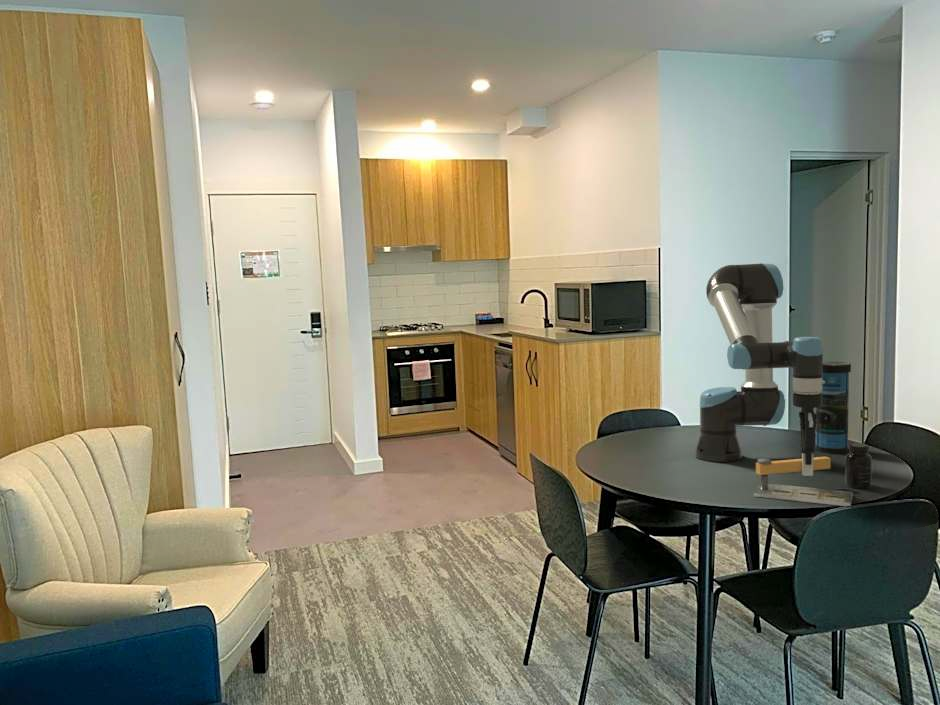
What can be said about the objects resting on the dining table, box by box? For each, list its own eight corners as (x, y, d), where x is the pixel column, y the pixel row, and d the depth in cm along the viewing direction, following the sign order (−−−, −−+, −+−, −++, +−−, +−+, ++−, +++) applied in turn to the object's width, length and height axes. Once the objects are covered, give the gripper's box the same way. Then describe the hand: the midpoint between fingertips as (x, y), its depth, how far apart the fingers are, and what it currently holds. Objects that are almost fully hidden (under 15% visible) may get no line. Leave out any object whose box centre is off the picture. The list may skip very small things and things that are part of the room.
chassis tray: (753, 496, 205) (753, 478, 205) (760, 486, 215) (760, 469, 214) (850, 506, 193) (850, 488, 193) (852, 495, 203) (852, 477, 202)
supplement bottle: (840, 483, 214) (840, 442, 213) (862, 481, 215) (863, 441, 214) (854, 490, 207) (854, 448, 206) (877, 488, 208) (878, 446, 207)
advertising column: (839, 445, 259) (839, 360, 256) (856, 453, 248) (857, 364, 245) (807, 446, 259) (808, 362, 256) (823, 454, 247) (824, 366, 244)
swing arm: (761, 475, 206) (761, 462, 206) (754, 472, 210) (754, 459, 209) (832, 469, 210) (832, 456, 210) (824, 466, 214) (824, 453, 213)
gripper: (826, 395, 198) (826, 481, 200) (818, 389, 211) (818, 470, 213) (796, 395, 200) (796, 480, 202) (790, 389, 213) (790, 469, 215)
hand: (807, 475), depth 207 cm, fingers closed
